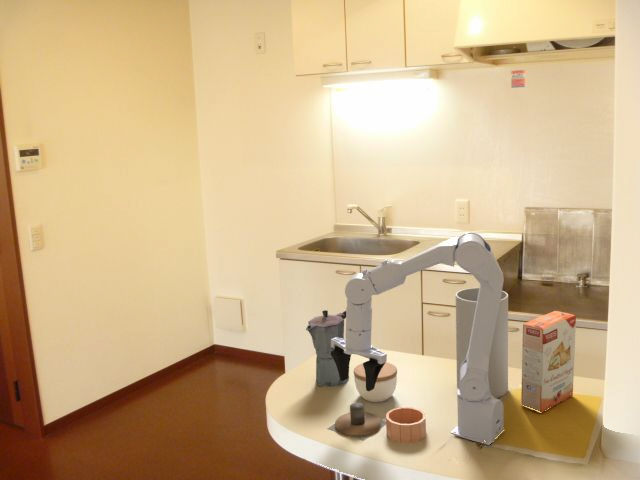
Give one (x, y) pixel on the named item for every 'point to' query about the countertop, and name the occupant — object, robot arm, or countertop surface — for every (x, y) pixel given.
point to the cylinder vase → (499, 346)
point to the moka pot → (326, 346)
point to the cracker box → (548, 360)
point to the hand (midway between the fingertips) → (356, 384)
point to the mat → (357, 436)
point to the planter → (406, 424)
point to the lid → (357, 422)
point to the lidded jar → (377, 383)
